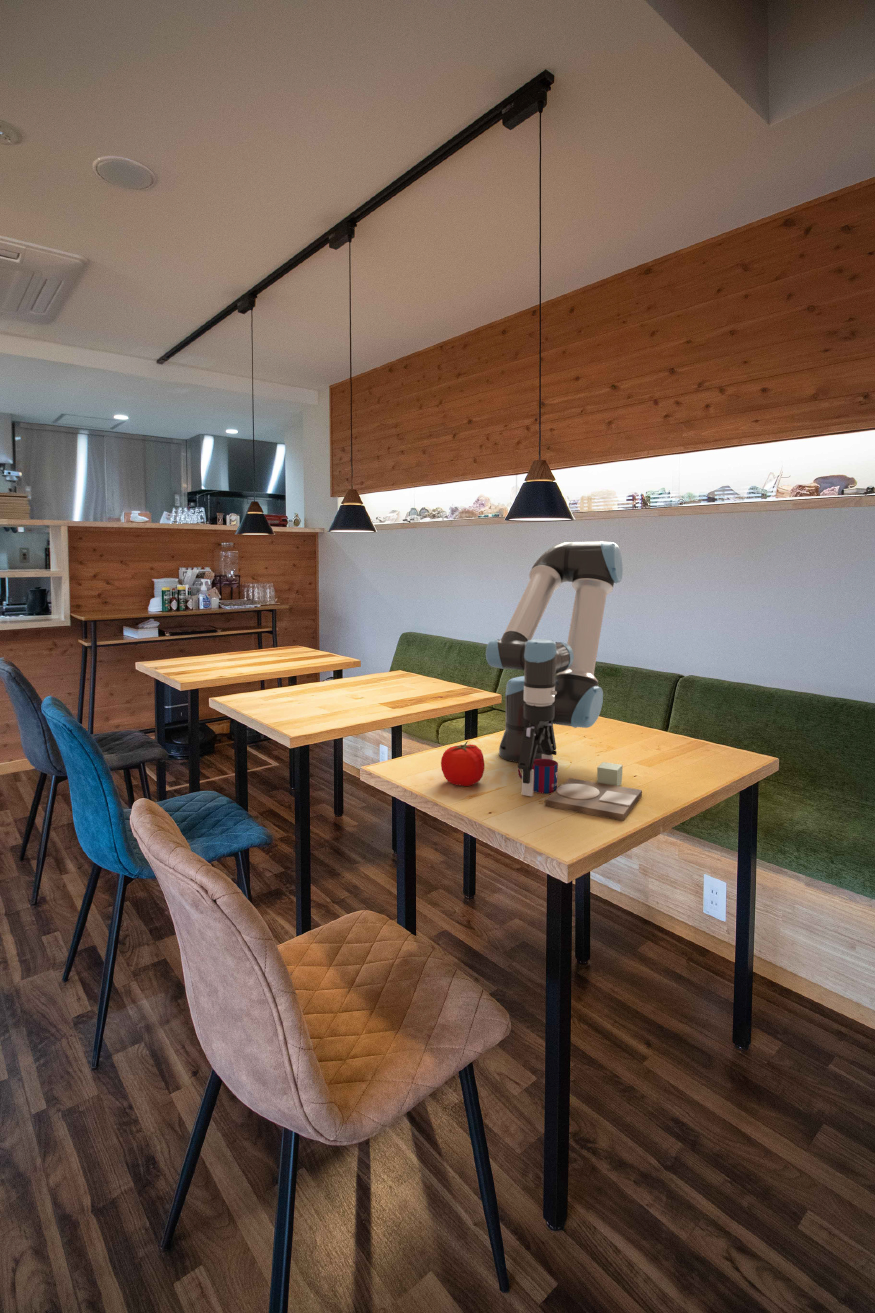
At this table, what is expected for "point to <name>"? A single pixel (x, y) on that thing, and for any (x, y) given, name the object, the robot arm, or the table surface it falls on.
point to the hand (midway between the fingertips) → (537, 787)
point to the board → (594, 798)
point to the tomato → (463, 764)
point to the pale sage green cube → (609, 774)
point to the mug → (544, 775)
